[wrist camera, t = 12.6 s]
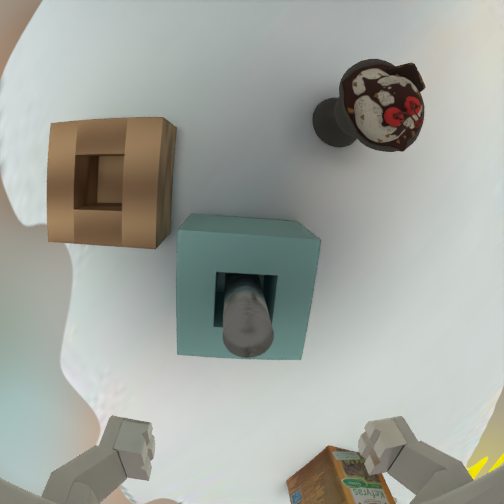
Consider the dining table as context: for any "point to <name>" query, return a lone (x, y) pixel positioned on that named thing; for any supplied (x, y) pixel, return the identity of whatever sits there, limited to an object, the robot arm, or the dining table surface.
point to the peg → (245, 316)
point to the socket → (110, 181)
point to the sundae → (374, 107)
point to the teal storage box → (248, 262)
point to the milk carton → (338, 481)
